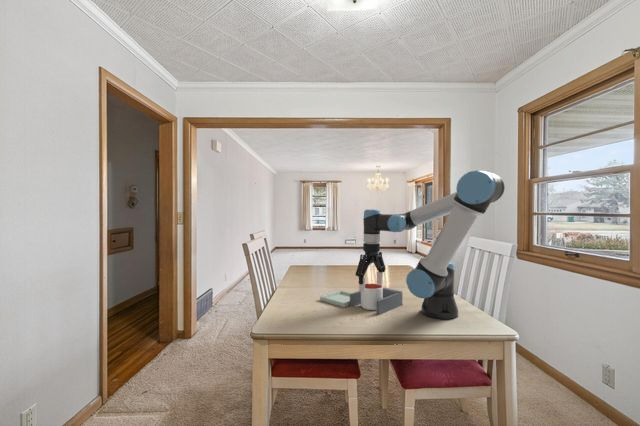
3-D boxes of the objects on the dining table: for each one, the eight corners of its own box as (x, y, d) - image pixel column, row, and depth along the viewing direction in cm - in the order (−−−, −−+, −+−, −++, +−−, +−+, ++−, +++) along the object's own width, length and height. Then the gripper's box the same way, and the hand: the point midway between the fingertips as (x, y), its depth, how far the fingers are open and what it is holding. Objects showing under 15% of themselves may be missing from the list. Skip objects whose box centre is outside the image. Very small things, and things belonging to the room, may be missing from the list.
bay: (402, 304, 152) (402, 290, 152) (379, 314, 139) (379, 299, 139) (373, 298, 164) (373, 284, 164) (349, 306, 150) (349, 292, 150)
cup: (381, 304, 153) (381, 283, 153) (383, 311, 143) (383, 289, 143) (360, 304, 154) (360, 283, 154) (361, 310, 144) (361, 288, 144)
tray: (365, 300, 160) (365, 296, 160) (344, 307, 149) (344, 303, 149) (341, 294, 172) (341, 290, 171) (320, 300, 160) (320, 296, 160)
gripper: (380, 239, 160) (379, 282, 160) (347, 244, 142) (347, 291, 143) (393, 241, 154) (392, 284, 155) (361, 246, 137) (360, 295, 137)
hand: (370, 288), depth 149 cm, fingers open, 13 cm apart
